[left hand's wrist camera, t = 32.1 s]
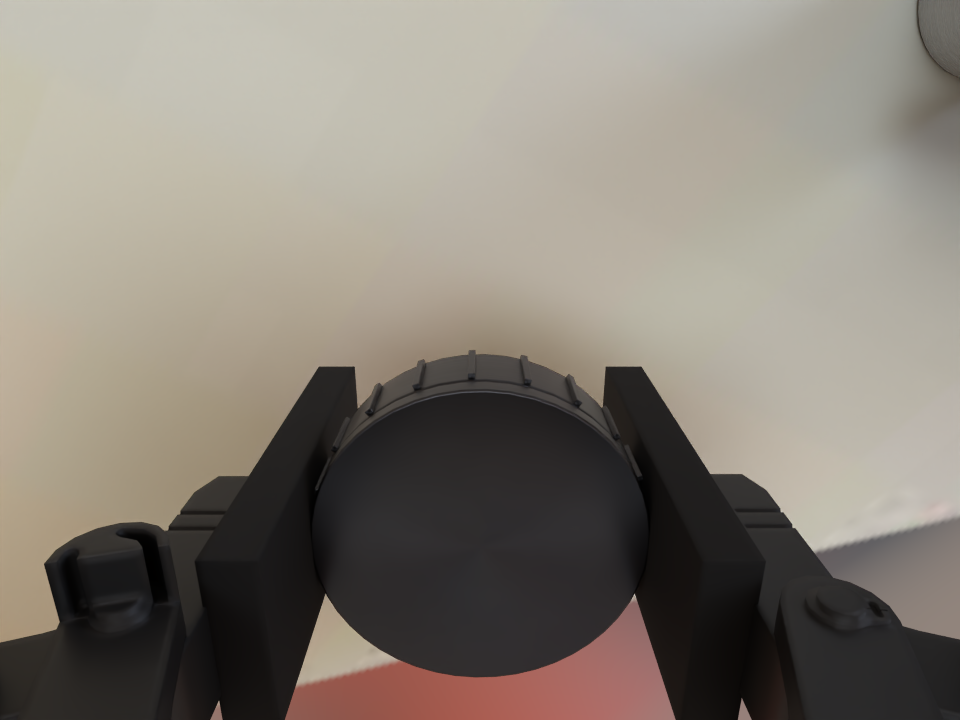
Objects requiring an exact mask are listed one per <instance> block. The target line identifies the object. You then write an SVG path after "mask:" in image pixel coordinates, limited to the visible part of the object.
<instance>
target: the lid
mask: <svg viewBox="0 0 960 720" xmlns="http://www.w3.org/2000/svg"><path fill="white" fill-rule="evenodd" d="M331 451H333V452H334V453H333V455H332V457H331V458H328V460H327V462H326V464H325V466H324V469H323V471H322V473H321V475H320V478H319V480H318V482H317V484H316V487H315V489H314V491H315V495H316V497H315V500H314V503H313V509H312V515H311V521H310V528H311V541H312V551H313V560H314V565H315V568H316V571H317V575H318V578H319V580H320V582H321V584H322V587H323V589H324V591H325V593H326V595H327V597H328V598H329V600H330V601H331V603H332V604H333V606H334V607H335V609H336V610H337V612H338V613H339V614H340V615H341V616H342V617H343V619H344V620H345V621H346V622H347V623H348V624H349V626H351V627H352V628H353V629H354V630H355V631H356V632H357V633H358V634H359V635H361V636H362V637H363V638H364V639H365V640H367V641H368V642H370V643H371V644H373V645H374V646H375V647H377V648H378V649H380V650H381V651H383V652H385V653H387V654H389V655H391V656H393V657H394V658H396V659H398V660H401V661H403V662H406V663H408V664H411V665H413V666H416V667H419V668H423V669H426V670H429V671H433V672H437V673H442V674H448V675H454V676H465V677H498V676H506V675H513V674H519V673H523V672H527V671H531V670H536V669H539V668H541V667H544V666H547V665H550V664H553V663H555V662H558V661H560V660H562V659H564V658H566V657H568V656H570V655H572V654H574V653H576V652H577V651H579V650H580V649H582V648H583V647H585V646H587V645H588V644H590V643H591V642H592V641H594V640H595V639H596V638H597V637H599V636H600V635H601V634H602V633H604V632H605V631H606V630H607V629H608V628H609V627H610V626H611V625H612V624H613V623H614V622H615V621H616V620H617V618H618V617H619V616H620V615H621V613H622V612H623V611H624V609H625V608H626V607H627V605H628V604H629V603H630V601H631V599H632V597H633V595H634V594H635V592H636V590H637V588H638V586H639V584H640V581H641V578H642V576H643V573H644V571H645V568H646V563H647V555H648V546H649V536H650V518H649V510H648V506H647V502H646V498H645V495H644V492H643V489H642V487H641V485H640V482H641V481H644V479H643V476H642V474H641V472H640V469H639V467H638V465H637V463H636V461H635V458H634V456H633V454H632V452H631V449H630V447H629V445H625V446H624V445H623V443H622V441H621V436H620V434H619V431H618V429H617V427H616V425H615V422H614V420H613V418H612V415H611V413H610V411H609V409H608V408H607V406H604V407H602V408H601V407H600V406H599V405H598V403H597V402H596V401H595V400H594V399H593V398H592V397H591V396H589V395H588V394H587V393H586V392H585V391H584V390H583V389H582V388H580V387H579V386H577V385H576V383H575V380H574V377H573V376H571V375H569V374H568V375H567V377H564V376H562V375H560V374H558V373H556V372H554V371H552V370H550V369H548V368H546V367H543V366H540V365H538V364H535V363H532V362H529V361H528V358H527V356H524V355H521V357H520V359H517V358H512V357H508V356H498V355H487V354H480V355H476V352H475V350H469V355H461V356H455V357H448V358H442V359H439V360H436V361H432V362H429V363H425V361H424V359H423V360H420V361H418V364H417V367H415V368H413V369H411V370H408V371H406V372H404V373H402V374H400V375H399V376H397V377H395V378H394V379H392V380H390V381H389V382H387V383H386V384H384V385H383V386H382V385H381V384H380V383H378V384H377V385H375V387H374V389H373V392H372V395H371V396H370V397H369V398H368V399H367V400H366V401H365V402H364V403H363V404H362V405H361V406H360V407H359V408H358V410H357V411H356V412H355V414H354V415H353V417H352V418H351V419H350V418H348V417H346V418H345V420H344V421H343V423H342V426H341V428H340V430H339V432H338V435H337V437H336V439H335V441H334V443H333V446H332V448H331Z"/></svg>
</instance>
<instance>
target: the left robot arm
mask: <svg viewBox="0 0 960 720" xmlns="http://www.w3.org/2000/svg"><path fill="white" fill-rule="evenodd" d="M604 406H607V408H608V409H609V411H610V413H611V415H612V418H613V420H614V422H615V425H616V427H617V429H618V431H619V434H620V436H621V441H622V443H623V445H624V446H625V445H629V447H630V449H631V452H632V454H633V456H634V458H635V461H636V463H637V465H638V467H639V469H640V472H641V474H642V476H643V479H644V481H641V482H640V485H641V487H642V489H643V492H644V495H645V498H646V502H647V506H648V510H649V518H650V536H649V546H648V555H647V563H646V568H645V571H644V573H643V576H642V578H641V581H640V584H639V586H638V588H637V590H636V592H635V595H636V598H637V601H638V605H639V607H640V611H641V614H642V617H643V620H644V623H645V626H646V629H647V632H648V635H649V639H650V642H651V645H652V648H653V651H654V654H655V657H656V660H657V663H658V666H659V669H660V673H661V675H662V679H663V682H664V685H665V688H666V691H667V694H668V697H669V700H670V703H671V706H672V710H673V713H674V716H675V719H676V720H738V715H739V710H740V704H741V698H742V699H743V701H744V704H745V706H746V708H747V710H748V712H749V714H750V717H751V719H752V720H960V640H959V639H954V638H950V637H945V636H940V635H936V634H931V633H927V632H922V631H918V630H914V629H911V628H907V627H904V626H902V624H901V622H900V620H899V619H898V617H897V616H896V615H895V613H894V612H893V610H892V609H891V608H890V606H889V605H887V604H886V603H885V602H883V601H882V600H881V599H879V598H878V597H877V596H875V595H874V594H873V593H871V592H869V591H867V590H865V589H863V588H861V587H859V586H857V585H855V584H852V583H850V582H847V581H843V580H839V579H835V578H833V577H832V576H831V574H830V573H829V572H828V571H827V569H826V568H825V567H824V565H823V564H822V563H821V561H820V560H819V559H818V557H817V556H816V555H815V553H814V552H813V551H812V550H811V548H810V547H809V546H808V544H807V543H806V542H805V540H804V539H803V538H802V536H801V535H800V534H799V533H798V531H797V530H796V529H795V528H792V523H791V522H790V521H789V519H788V518H787V517H786V515H785V514H784V513H783V512H781V511H780V508H779V506H778V505H777V504H776V502H775V501H774V500H773V498H772V497H771V496H770V495H769V493H768V492H767V491H766V490H765V489H764V488H762V487H761V486H759V485H758V484H756V483H755V482H753V481H751V480H750V479H748V478H747V477H745V476H744V475H742V474H710V473H709V471H708V470H707V468H706V467H705V465H704V464H703V462H702V460H701V459H700V457H699V456H698V454H697V453H696V451H695V450H694V448H693V446H692V445H691V443H690V442H689V440H688V439H687V437H686V436H685V434H684V432H683V431H682V429H681V428H680V426H679V425H678V423H677V421H676V420H675V418H674V417H673V415H672V414H671V412H670V411H669V409H668V407H667V406H666V404H665V403H664V401H663V400H662V398H661V397H660V395H659V393H658V392H657V390H656V389H655V387H654V386H653V384H652V383H651V381H650V379H649V378H648V376H647V375H646V373H645V372H644V370H643V368H642V367H606V371H605V385H604V399H603V407H604ZM357 410H358V408H357V394H356V379H355V367H319V368H318V369H317V371H316V372H315V374H314V375H313V377H312V379H311V380H310V382H309V383H308V385H307V386H306V388H305V389H304V391H303V393H302V394H301V396H300V397H299V399H298V400H297V402H296V403H295V405H294V407H293V408H292V410H291V411H290V413H289V414H288V416H287V417H286V419H285V421H284V422H283V424H282V425H281V427H280V428H279V430H278V432H277V433H276V435H275V436H274V438H273V439H272V441H271V442H270V444H269V446H268V447H267V449H266V450H265V452H264V453H263V455H262V456H261V458H260V460H259V461H258V463H257V464H256V466H255V467H254V469H253V471H252V472H251V474H250V475H249V476H219V477H217V478H216V479H214V480H213V481H211V482H209V483H208V484H206V485H205V486H203V487H202V488H200V489H199V490H197V491H196V492H195V493H194V494H193V495H192V496H191V498H190V499H189V500H188V502H187V503H186V504H185V506H184V507H183V508H182V510H181V513H180V515H177V516H176V518H175V519H174V520H173V522H172V523H171V524H170V526H169V530H168V531H164V530H163V529H161V528H160V527H159V526H157V525H152V524H148V523H143V522H133V523H118V524H114V525H110V526H105V527H101V528H97V529H95V530H92V531H90V532H87V533H85V534H83V535H80V536H78V537H75V538H74V539H72V540H71V541H69V542H68V543H66V544H64V545H63V546H61V547H60V548H58V549H57V550H56V551H55V552H54V553H53V554H52V555H51V556H50V558H49V559H48V560H47V561H46V562H45V563H44V566H45V569H46V573H47V577H48V580H49V584H50V588H51V591H52V595H53V599H54V602H55V606H56V610H57V613H58V617H59V621H60V623H59V625H58V627H57V629H56V630H53V631H49V632H46V633H42V634H38V635H33V636H29V637H24V638H19V639H15V640H10V641H6V642H1V643H0V720H210V719H211V717H212V714H213V712H214V710H215V708H216V706H217V703H218V701H219V702H220V707H221V713H222V718H223V720H285V717H286V714H287V711H288V708H289V705H290V702H291V699H292V695H293V692H294V689H295V686H296V683H297V680H298V677H299V674H300V671H301V668H302V665H303V661H304V658H305V655H306V652H307V649H308V646H309V643H310V640H311V637H312V634H313V631H314V627H315V624H316V621H317V618H318V615H319V612H320V609H321V606H322V603H323V600H324V597H325V591H324V589H323V587H322V584H321V582H320V580H319V578H318V575H317V571H316V568H315V565H314V560H313V551H312V541H311V528H310V521H311V515H312V509H313V503H314V500H315V497H316V495H315V491H314V489H315V487H316V484H317V482H318V480H319V478H320V475H321V473H322V471H323V469H324V466H325V464H326V462H327V460H328V458H331V457H332V455H333V453H334V452H333V451H331V448H332V446H333V443H334V441H335V439H336V437H337V435H338V432H339V430H340V428H341V426H342V423H343V421H344V420H345V418H346V417H348V418H350V419H351V418H352V417H353V415H354V414H355V412H356V411H357Z"/></svg>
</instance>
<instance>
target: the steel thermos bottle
mask: <svg viewBox="0 0 960 720" xmlns="http://www.w3.org/2000/svg"><path fill="white" fill-rule="evenodd" d="M918 19H919V27H920V32H921V36H922V39H923V41H924V44H925V46H926V48H927V50H928V52H929V53H930V55H931V56H932V58H933V59H934V60H935V61H936V63H938V64H939V65H940V66H941V67H942V68H943V69H944V70H946V71H947V72H949V73H951V74H952V75H954V76H957V77H959V78H960V0H919V2H918Z"/></svg>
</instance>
